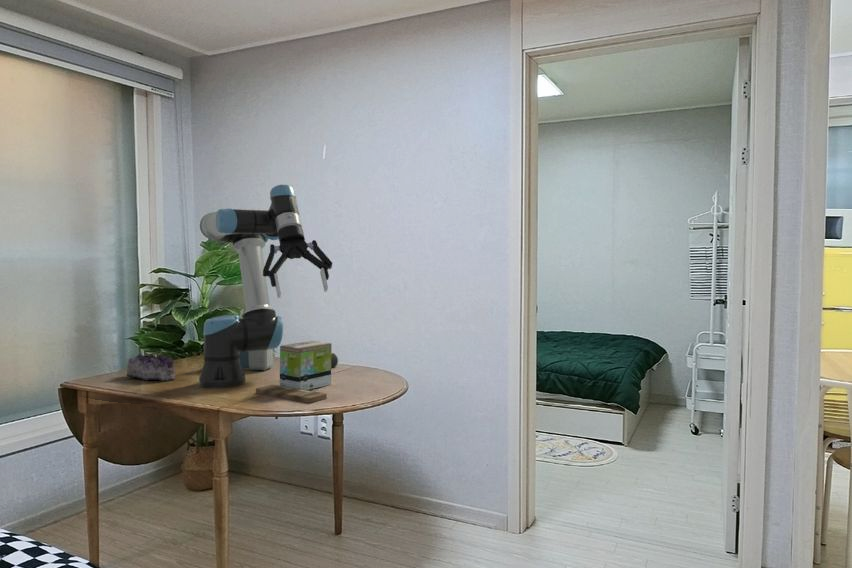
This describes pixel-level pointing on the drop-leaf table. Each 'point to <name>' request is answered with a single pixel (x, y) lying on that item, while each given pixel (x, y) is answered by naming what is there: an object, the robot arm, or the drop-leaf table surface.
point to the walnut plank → (291, 393)
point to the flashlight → (334, 360)
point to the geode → (151, 368)
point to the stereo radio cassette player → (257, 359)
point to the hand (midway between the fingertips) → (303, 292)
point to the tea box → (305, 365)
